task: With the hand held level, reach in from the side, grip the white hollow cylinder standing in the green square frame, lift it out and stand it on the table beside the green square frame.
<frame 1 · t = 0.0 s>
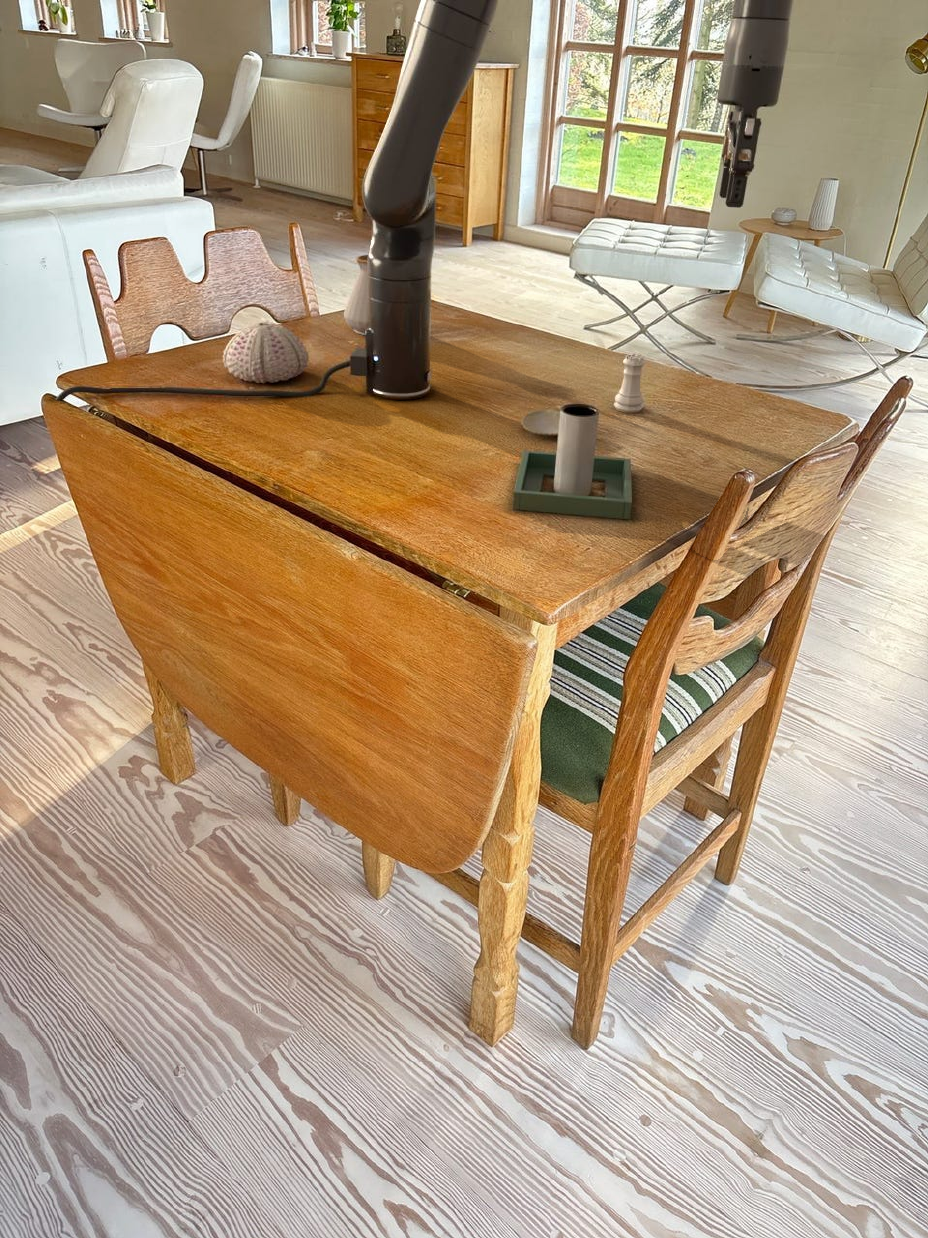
hand: (730, 202, 128), 29 cm above the table, tool pointing down, fingers open, 8 cm apart
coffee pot: (388, 338, 174), on the table
rook chess piece: (627, 409, 144), on the table
white hollow cylinder: (571, 492, 117), resting in green square frame
green square frame: (573, 491, 117), on the table
seashell: (549, 433, 134), on the table
sea urchin shell: (267, 376, 152), on the table
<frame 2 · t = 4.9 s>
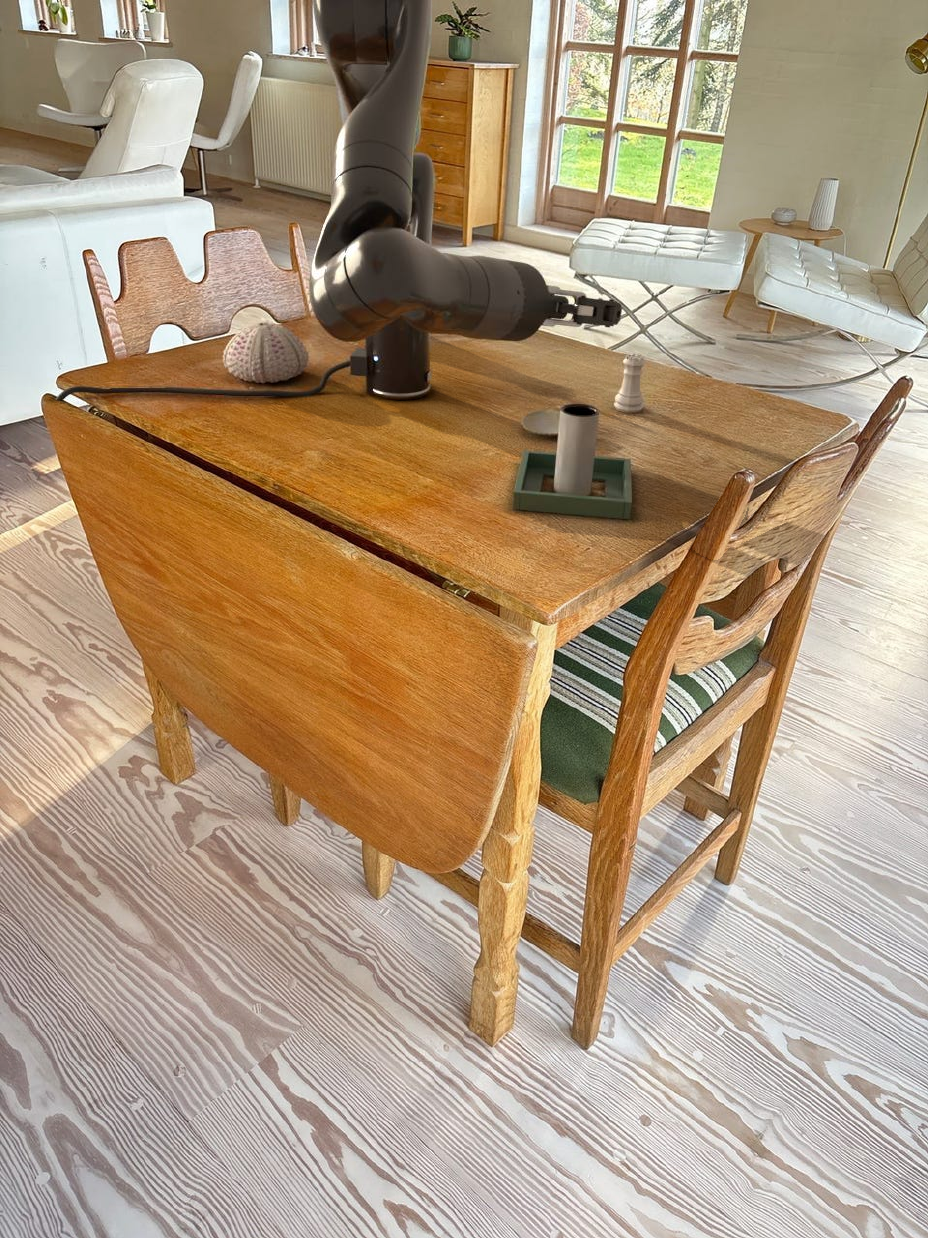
hand: (584, 309, 104), 22 cm above the table, tool horizontal, fingers open, 8 cm apart
nothing on the table moved.
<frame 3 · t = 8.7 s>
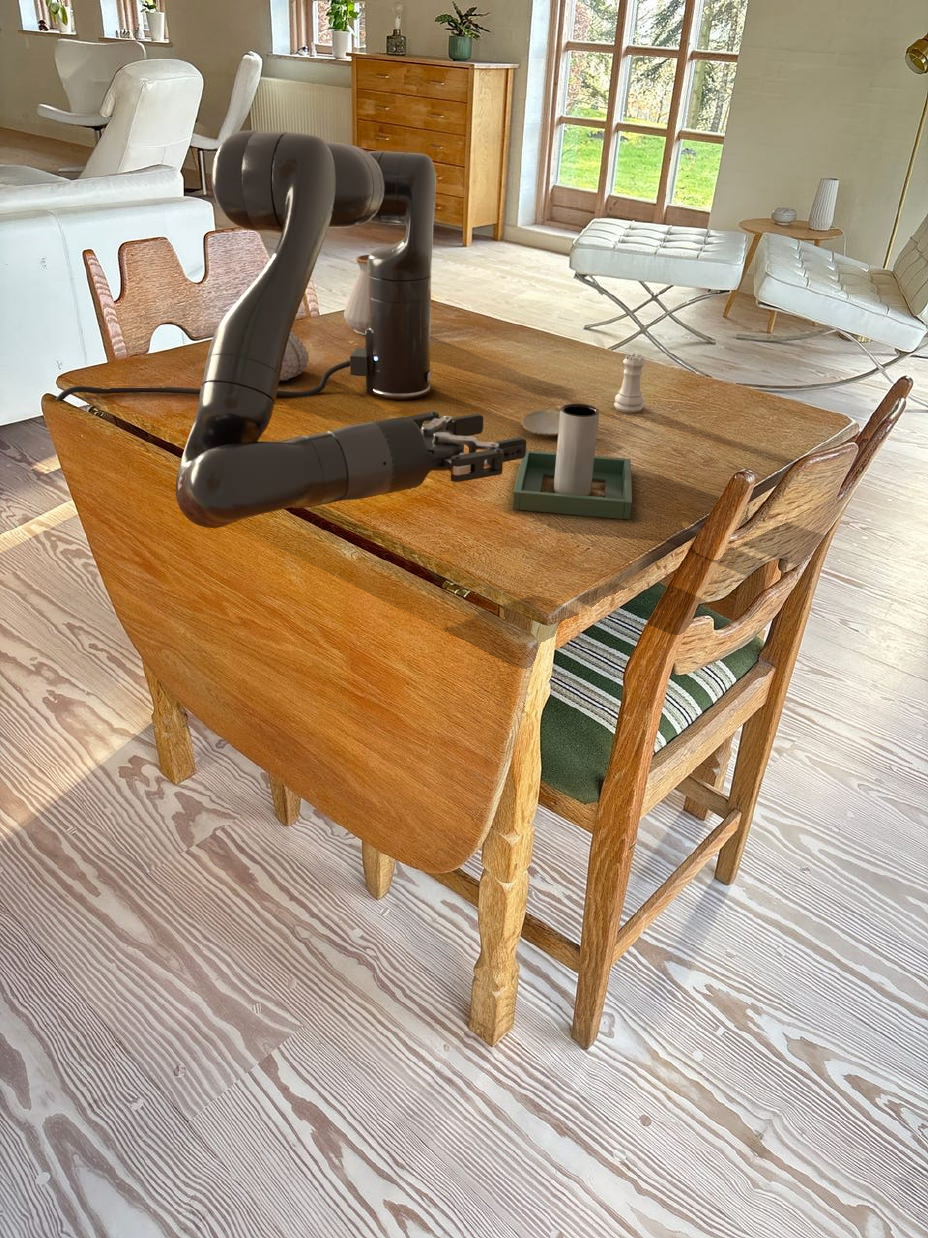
hand: (502, 434, 106), 9 cm above the table, tool horizontal, fingers open, 8 cm apart
nothing on the table moved.
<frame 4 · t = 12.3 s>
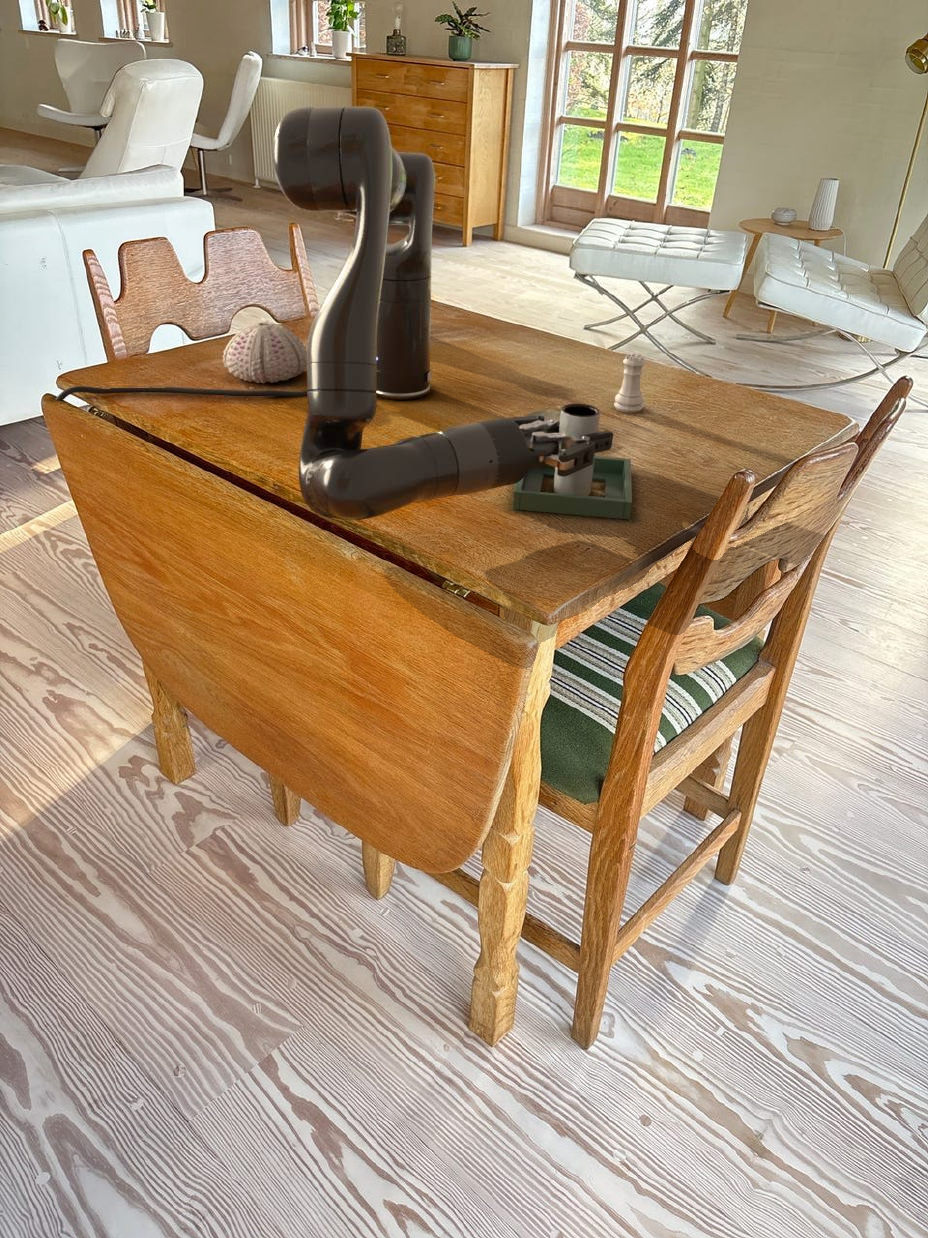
hand: (595, 432, 114), 7 cm above the table, tool horizontal, fingers closed on white hollow cylinder, 4 cm apart
white hollow cylinder: (571, 492, 117), resting in green square frame, touching gripper
everything else where it was.
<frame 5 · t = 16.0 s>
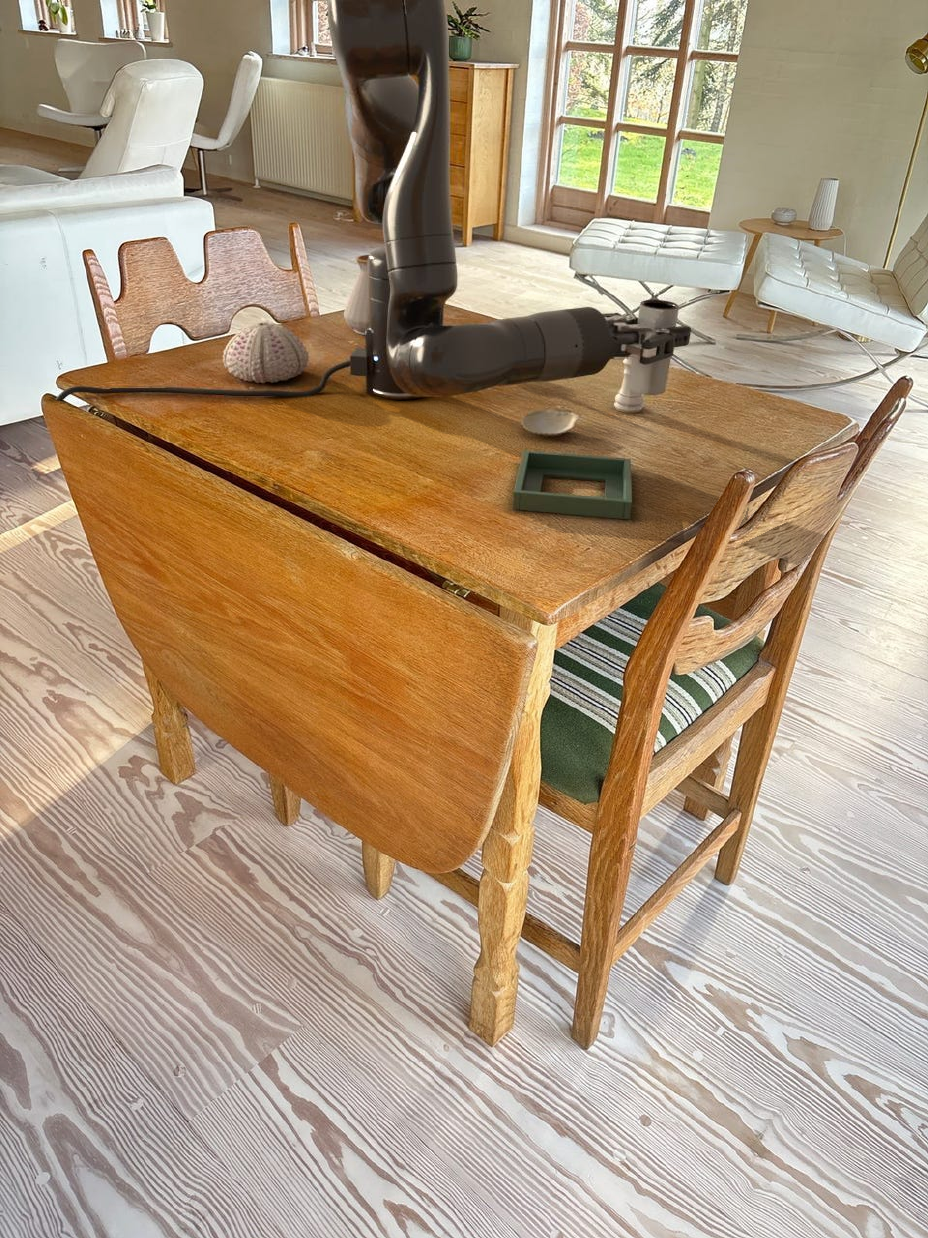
hand: (672, 329, 115), 18 cm above the table, tool horizontal, fingers closed on white hollow cylinder, 4 cm apart
white hollow cylinder: (646, 391, 118), point 10 cm above the table, touching gripper
everything else where it was.
when the fingers open (7 cm above the table, at t = 20.1 s): white hollow cylinder stays where it is, on the table.
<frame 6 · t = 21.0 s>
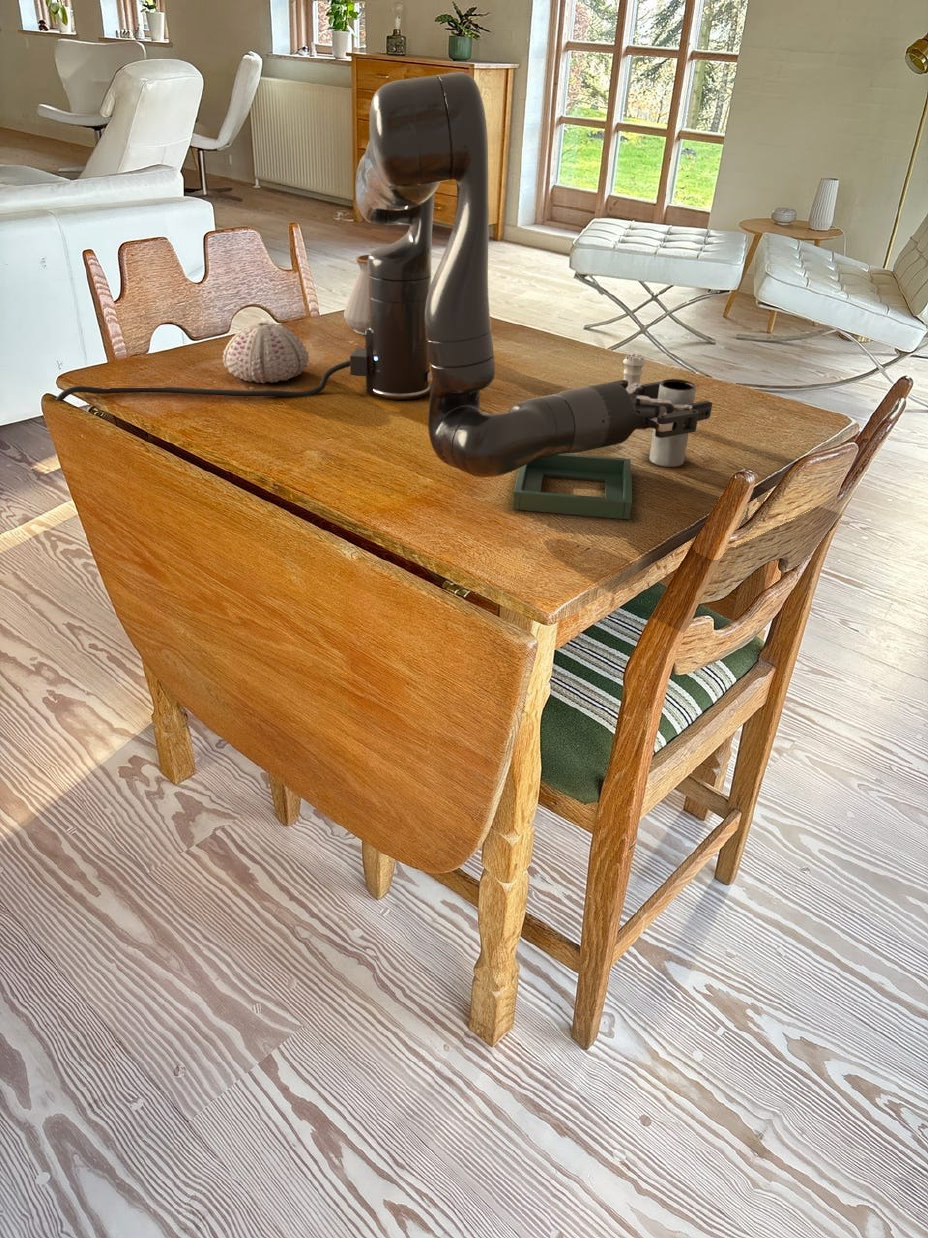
hand: (685, 399, 123), 8 cm above the table, tool horizontal, fingers open, 8 cm apart
white hollow cylinder: (666, 462, 126), on the table
everything else where it was.
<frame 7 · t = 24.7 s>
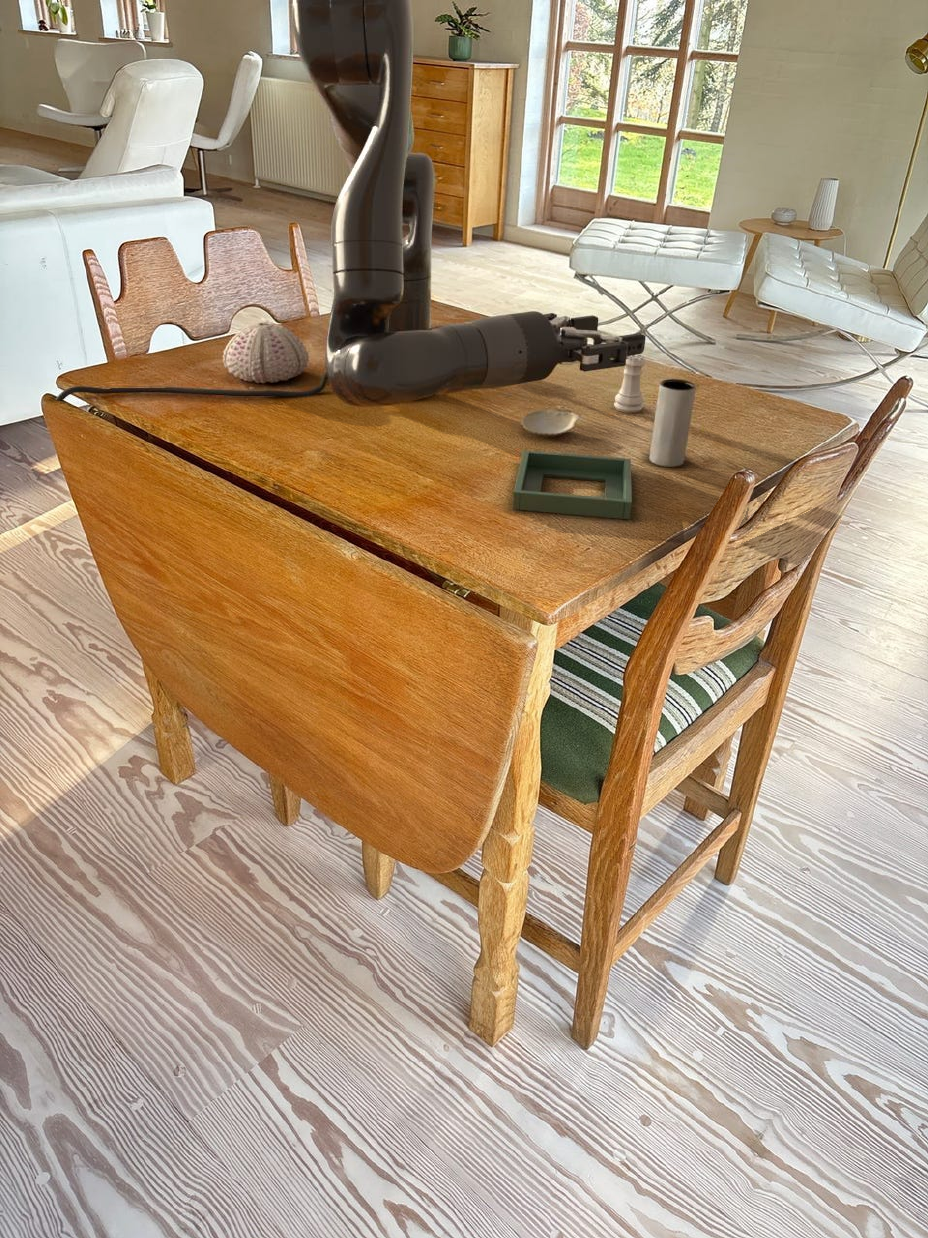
hand: (618, 333, 112), 18 cm above the table, tool horizontal, fingers open, 8 cm apart
nothing on the table moved.
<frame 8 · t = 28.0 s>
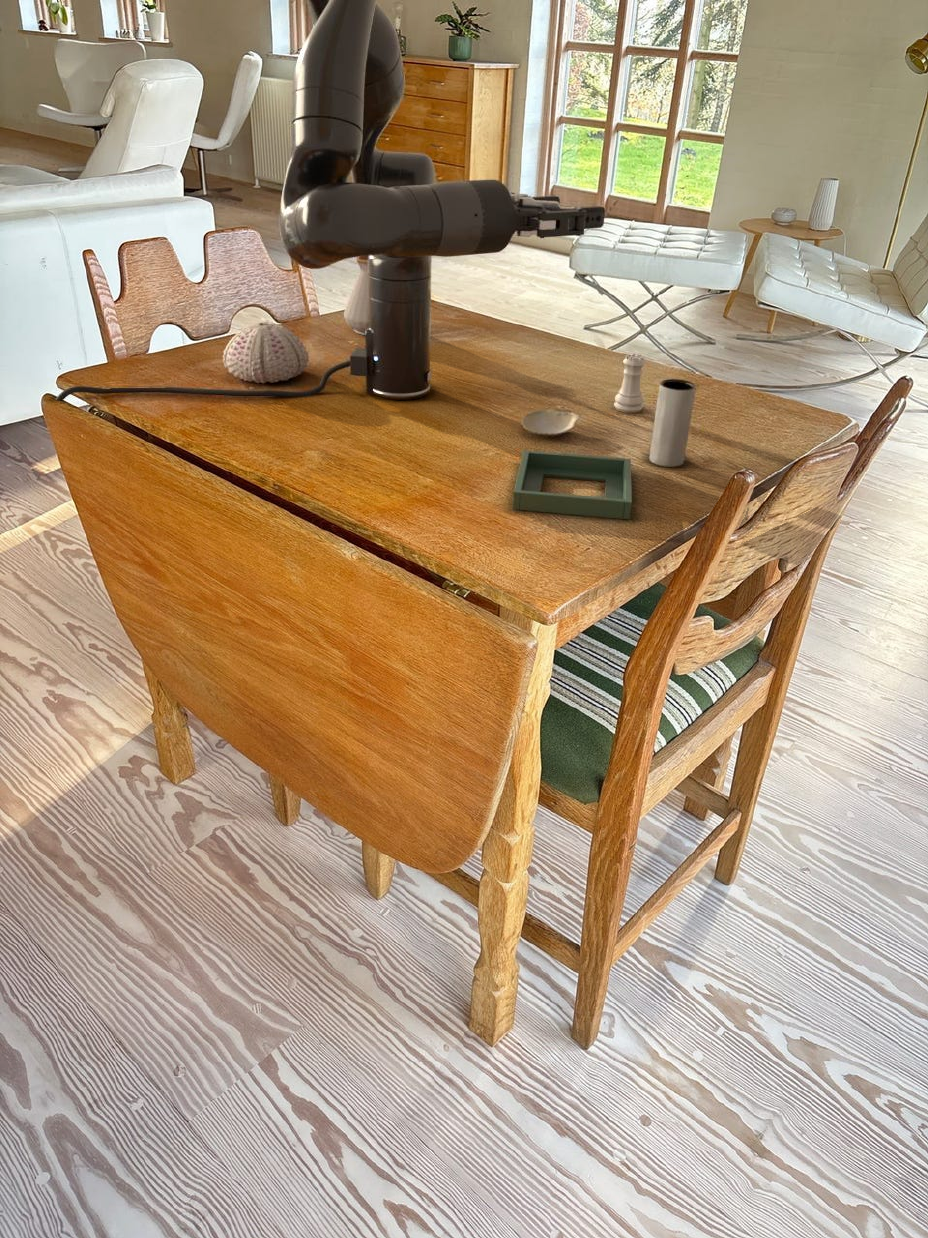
hand: (579, 210, 112), 30 cm above the table, tool horizontal, fingers open, 8 cm apart
nothing on the table moved.
at the end: white hollow cylinder inside the target area (1.0 cm from its centre), on the table; white hollow cylinder tilted 0°; the gripper is holding nothing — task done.
